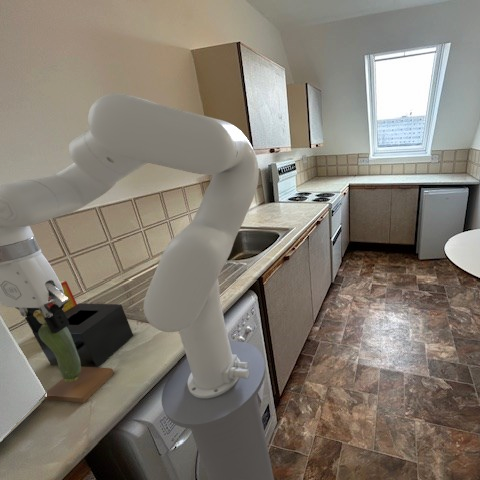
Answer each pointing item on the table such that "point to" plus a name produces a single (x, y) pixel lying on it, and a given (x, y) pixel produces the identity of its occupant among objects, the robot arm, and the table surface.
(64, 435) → the table surface
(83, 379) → the board
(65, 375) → the vegetable
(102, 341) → the toaster
